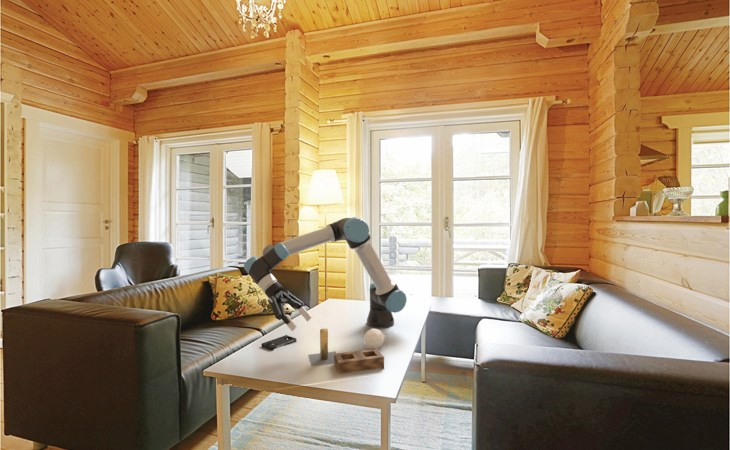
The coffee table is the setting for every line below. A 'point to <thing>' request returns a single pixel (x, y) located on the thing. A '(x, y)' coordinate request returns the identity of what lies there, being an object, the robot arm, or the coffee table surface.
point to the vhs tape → (278, 342)
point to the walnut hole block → (358, 360)
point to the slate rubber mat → (317, 361)
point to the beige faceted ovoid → (374, 338)
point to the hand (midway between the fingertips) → (302, 324)
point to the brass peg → (323, 344)
